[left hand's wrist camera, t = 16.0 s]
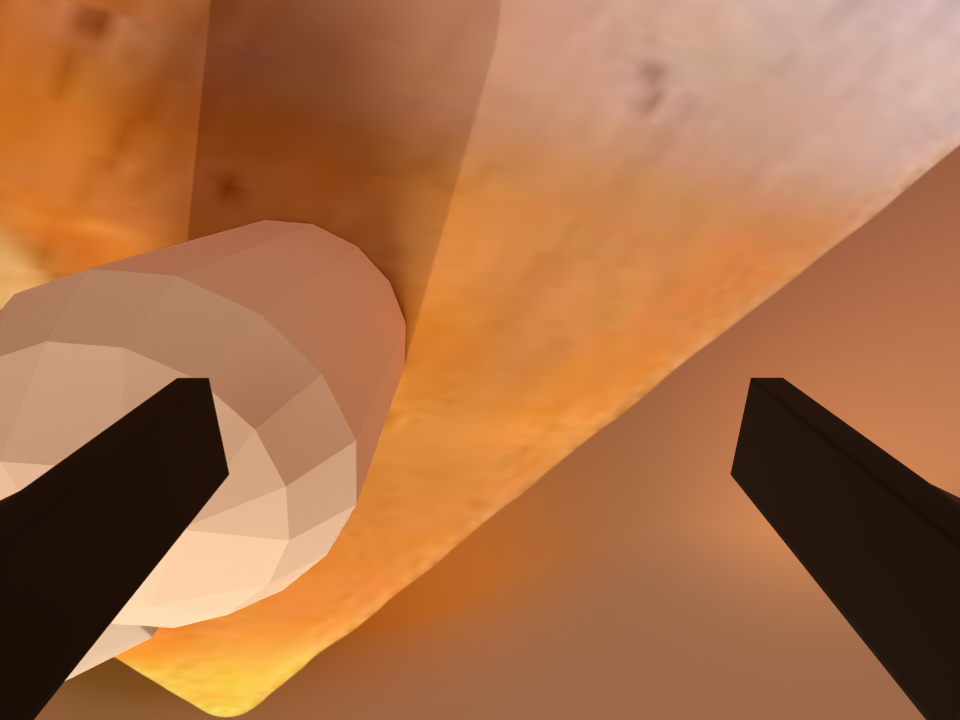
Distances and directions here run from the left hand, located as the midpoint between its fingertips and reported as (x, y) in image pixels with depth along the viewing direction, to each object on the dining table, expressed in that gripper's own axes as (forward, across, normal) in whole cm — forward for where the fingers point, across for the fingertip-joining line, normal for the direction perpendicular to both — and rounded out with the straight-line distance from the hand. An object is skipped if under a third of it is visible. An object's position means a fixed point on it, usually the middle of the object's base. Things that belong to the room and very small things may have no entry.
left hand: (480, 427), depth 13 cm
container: (+34, +17, +9) cm, 39 cm away
